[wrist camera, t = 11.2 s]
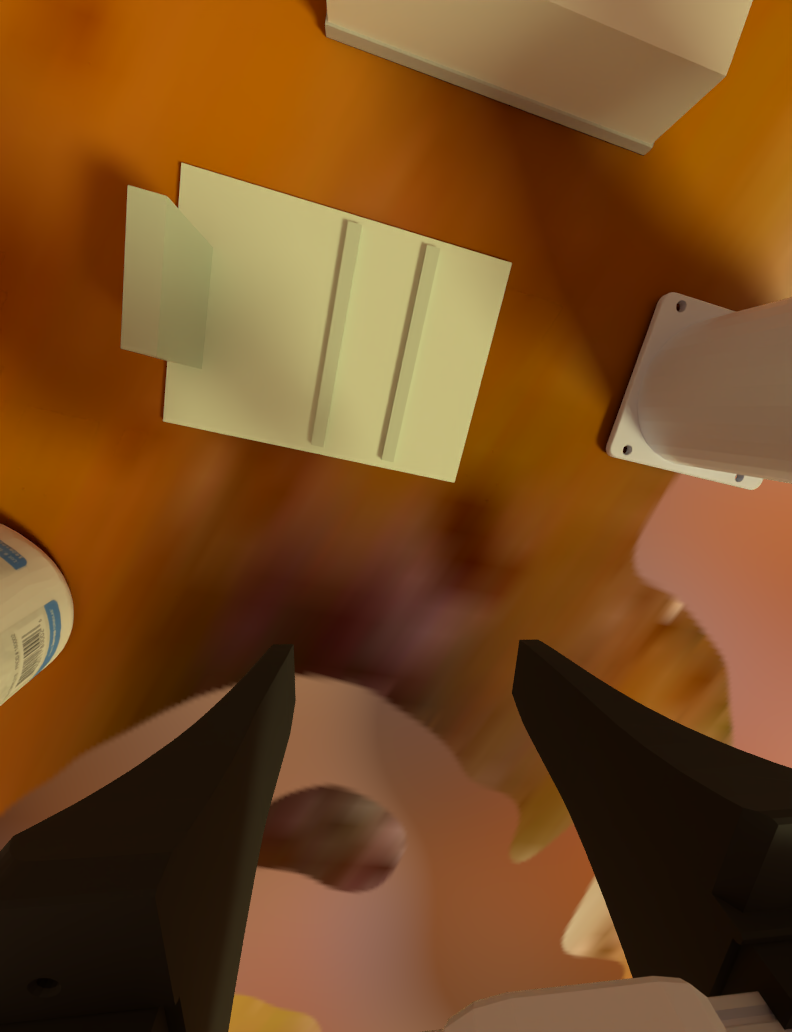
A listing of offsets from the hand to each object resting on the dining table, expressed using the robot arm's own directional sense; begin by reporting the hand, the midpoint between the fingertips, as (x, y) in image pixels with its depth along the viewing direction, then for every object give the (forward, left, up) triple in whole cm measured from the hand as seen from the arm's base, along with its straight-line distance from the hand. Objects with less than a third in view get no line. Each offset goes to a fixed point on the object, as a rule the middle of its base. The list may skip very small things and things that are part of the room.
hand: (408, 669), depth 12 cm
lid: (+5, -10, -10) cm, 15 cm away
